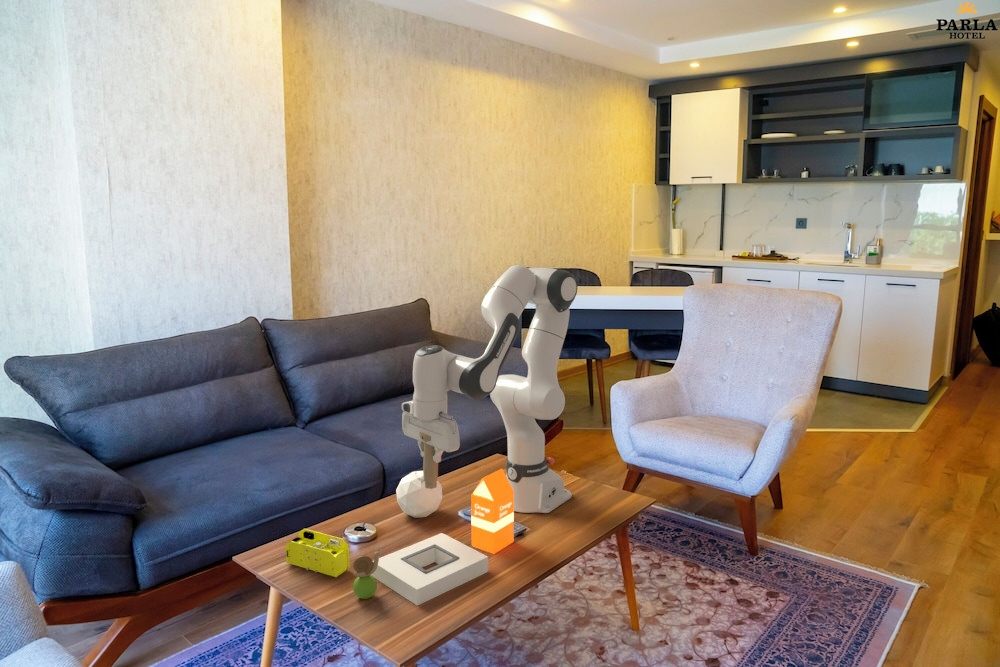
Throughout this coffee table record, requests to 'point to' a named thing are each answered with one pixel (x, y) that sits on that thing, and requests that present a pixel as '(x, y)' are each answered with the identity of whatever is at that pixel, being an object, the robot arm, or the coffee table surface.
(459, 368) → the robot arm
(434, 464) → the handle
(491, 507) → the orange juice
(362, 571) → the snail figurine
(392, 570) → the socket board
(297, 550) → the yellow toy chassis
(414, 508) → the geodesic sphere
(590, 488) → the coffee table surface
